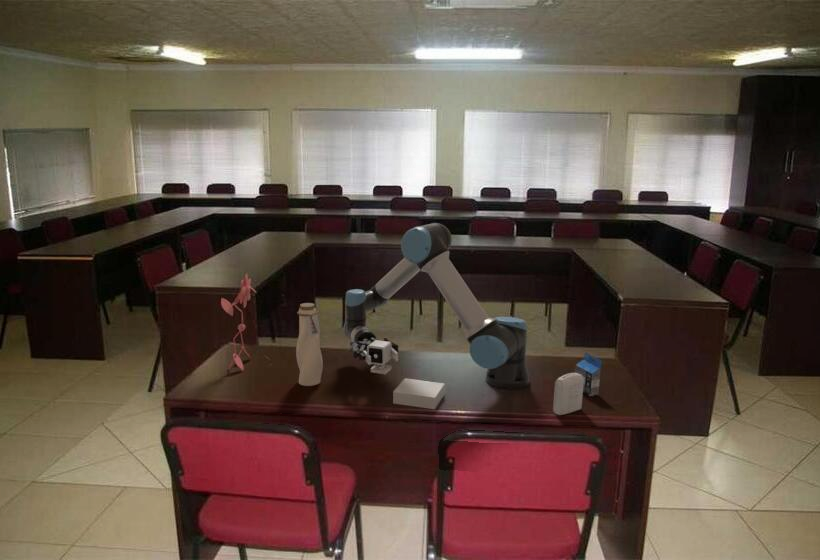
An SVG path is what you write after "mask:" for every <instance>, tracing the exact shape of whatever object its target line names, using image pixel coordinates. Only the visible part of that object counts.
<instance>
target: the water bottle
mask: <svg viewBox="0 0 820 560" xmlns="http://www.w3.org/2000/svg"><path fill="white" fill-rule="evenodd" d="M296 314H297V316H298V317H299V318H298V320H299V321H298V323H299V324H298V325H299V328H298V329H299V330H298V331H299V333H298V337H297V343H296V347H295V354H296V355H295V356H296V362H297V363H296V364H297V367H298V368H299V376H298V384H299V385H301V386H304V387H312V386H317V385H319V384H320V383H321V381H322V379H321V377H322V373H323V368H324V364H323V356H322V352H321V348H320V347H321V345H320V336H321V330H320V324H319V323H320V322H319V315H318V314H319V311H318V310H316V307H315V303H312V302H304V303H300V305H299V309H298V311H297V312H296Z"/></svg>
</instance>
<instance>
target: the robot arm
mask: <svg viewBox="0 0 820 560" xmlns="http://www.w3.org/2000/svg"><path fill="white" fill-rule="evenodd" d="M452 239H453V238H452V234H451V231H450V230H449V229H448V228H447V226H446V225H444V224H442V223H438V222H431V223H429V224H424V225H417V226H414V227H413V228H411V229H408V230H407V231H406V232H405V233H404V235H403V236H402V239H401V243H400V248H401V249H400V250H401V253H402V255H403V259H401V260H400V261H399V262H398V263H397V264H396V265H395V266H394V267H392V269H391V270H389V272H387V273H386V274H385V275H384V276H383V277H382V278H381V279H380V280H378V282H377V283H376V284H374V285H373V286H372V287H371V288H370V289H369V290H366V291H365V290H363V289H359V288H355V289H349V290H347V291H346V293H345V300H344V303H345V322H344V324H343V332H344V334H345V336H346V337H347V339H348V340H350V341H351V342H349V348H350V350H351V351H352V356H353V359H357V358H358V359H359V361H365V362H366V364H368V365H372V364H371V356H370V355H369V354H368V353H367V346H368V345H370V344H371V343H372V342H374V341H375V340H379V341H381V340H380V339H378V338H377V336H376V335H375V334H374V333H373V332H372V331H371V330H370V329H369V328H368V327H367V312H370V311H373V310H375V309H378V308H381V307H383V306H384V305H386V304H388V302H389V300H390V298H392V296H394V295H395V293H397V292H398V291H399V290H400V289H401V288H402V287H403V286H405V285H406V284H407V283H408V282H409V281H410V280H412V278H414V277H415V276H416V275H417V274H418V273H419V272H423V273H424V272H425V273H427V274H428V275H429V276H430V278H431V280H432V281H433V283H434V284H435V286H436V288H437V289H438V291H439V292H440V294H441V295H442V296H443V297H444V299H445V301H446V302H447V304H448V305H449V307H450V308H451V309H452V311H453V313H454V314H455V315H456V317H457V319H458V320H459V322H460V323H461V324H462V326H463V328H464V329H465V331H466V338H465V339H466V341H467V342H468V344H469V345H470V346H469V354H470V357H471V359H472V360H473V362H474V363H475V364H476V365H478V366H479V367H481V368H483V369H487V370H486V372H485V381H486V382H487V384H489V385H491V386H493V387H496V388H500V389H504V390H505V389H507V390H510V389H511V390H515V389H522V388H524V387H526V386H528V385H529V383H530V375H529V371H528V367H527V364H526V351H527V347H526V346H527V335H528V334H527V331H528V324H527V322H526V320H524V319H521V318H518V317H513V316H496V317H493V318H491V317H489V316H488V314H487V313H486V311H485V310H484V308H483V307H482V306H481V304H480V303H479V301H478V300H477V298H476V297H475V295H474V293H472V291H471V288H469V286H468V285H467V283H466V282H465V281H464V279H463V278H462V276H461V275H460V273H459V271H458V270H457V269H456V267H455V266H454V264H453V263H452V261H451V260H450V251H449V250H450V248H451V246H452V243H453V242H452ZM382 341H387V342H391V344H392V358H391V359H393V360H394V361H396V362H399V345H398V344H396V343H394V342H393V341H390V340H388V338H387V337H385V338H383V339H382Z"/></svg>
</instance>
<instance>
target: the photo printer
mask: <svg viewBox="0 0 820 560" xmlns="http://www.w3.org/2000/svg"><path fill="white" fill-rule="evenodd" d="M583 384H584V379H583V376H582V375H581V374H578V373H575V372H569V373H566V374H563V375H562V376H559V377H558V378H557V379H556V380H555V382H554V390H553V391H554V392H553V393H554V394H553V406H552V407H553V408H552V411H553V413H554V414H555V415H557V416H561V415H562V416H563V415H566V414H571V413H573V412H576V411H579V410H582V406H583V404H582V403H583Z"/></svg>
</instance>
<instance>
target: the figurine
mask: <svg viewBox="0 0 820 560" xmlns="http://www.w3.org/2000/svg"><path fill="white" fill-rule="evenodd" d="M248 275H249V274H248V273H247V272H246V273H245V276H244V278H243V279H242V280H241V281H240V291H239V292H238V295H237V296H236V298H235V300H234V301H233V302H230V301H228V300H227V299H225V298H224V297H222V298H220V300H221V301H220V305H221V307H222V309H223V310H224V311H225V313H226V314H228V315H230V316H231V317H233V316H234V307H235V308H236V309H237V310H238V311H240V313H241V323H240V324H238V325H237V330H239V331H238V333H236V335H235V336H234V337H233V346H234V347H233V348H234V353H233V354H232V361H231V363H230V365H229V367H228V370H230V369H231V368H232V365H233V363H235V365H236V366H237V367H238V368H239V369H240V370H241V371H242V372H244V364H243V362H242V359H241V357H240V356H241V354H242V352H243V351H244V353H246V355H247V357H248V358H249V359H250V360H251V359H252V357H251V356H250V355H249V354H248V352H247V351H246V350H245V347H244V341H243V335H242V332H244V331H245V329H246V325H245V324H244V312H243V310H242V309H240V308H239V307H238V306H237V304H238V303H239V304H242V305H243V306H242V307H243V308H244V309H246V307H247V304H248V303H247V302H248V301H250V300H251V290H252V291H253V292H254V293H255V294H258V293H257V292H258V291H256V290H255V289H254V288H253V287H252V285H251V283H252V280H251V278H249V277H248ZM233 306H234V307H233ZM239 334H240V338H241V344H242V345H240V347H241V349H240V351H239V354H237V350H236V339H235V338H236V337H237V336H238V335H239ZM263 356H264V357H266V356H265V355H263ZM267 359H268V360H269V361H270V360H271V358H269V357H267ZM271 365H272V363H269V365H268V366H267V367H265V368H264V369H262V370H263V371H264V370H266V369H267V368H269V367H270V366H271ZM221 375H224V376H225V375H226V373H225V374H224V373H221Z"/></svg>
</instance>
